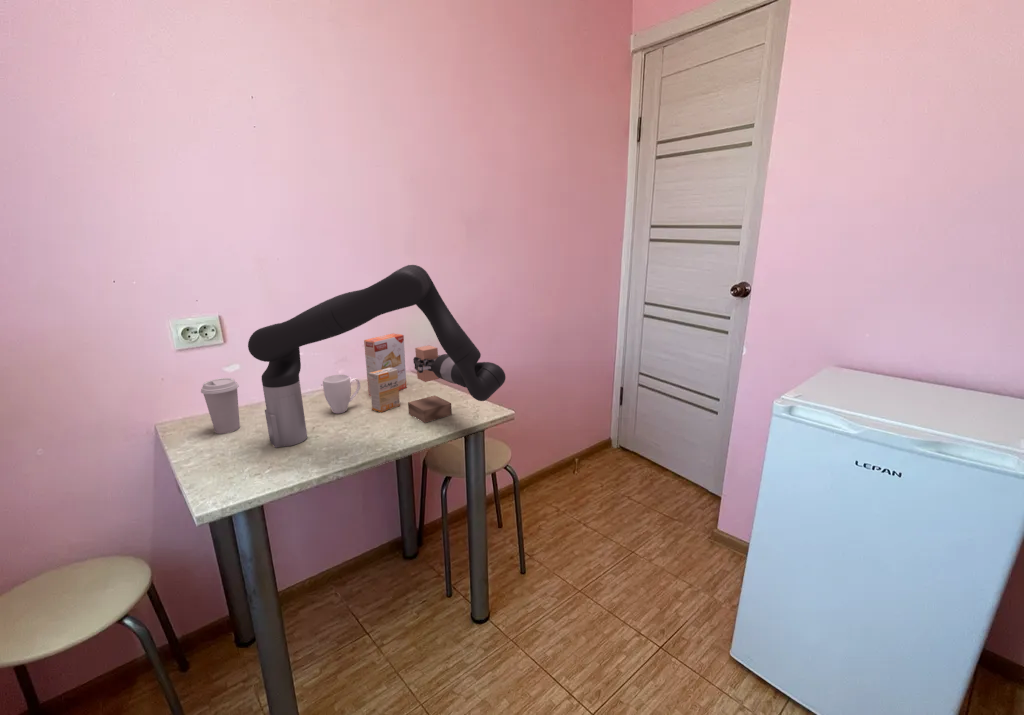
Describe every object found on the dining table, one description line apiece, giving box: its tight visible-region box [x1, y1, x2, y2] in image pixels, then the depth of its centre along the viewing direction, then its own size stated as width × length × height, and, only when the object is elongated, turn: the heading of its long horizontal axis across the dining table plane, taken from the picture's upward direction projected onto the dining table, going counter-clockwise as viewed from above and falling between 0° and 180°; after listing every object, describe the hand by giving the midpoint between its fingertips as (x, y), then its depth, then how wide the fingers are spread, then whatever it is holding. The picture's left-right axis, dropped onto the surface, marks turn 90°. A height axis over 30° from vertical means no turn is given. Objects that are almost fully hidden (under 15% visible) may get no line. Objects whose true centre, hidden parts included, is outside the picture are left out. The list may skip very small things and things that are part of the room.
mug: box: [322, 374, 361, 414], centre depth 153 cm, size 12×8×11 cm
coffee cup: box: [200, 377, 241, 435], centre depth 138 cm, size 10×10×15 cm
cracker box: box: [363, 332, 408, 397], centre depth 169 cm, size 14×6×21 cm, turn 147°
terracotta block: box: [414, 344, 440, 383], centre depth 145 cm, size 5×5×10 cm
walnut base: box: [407, 394, 453, 424], centre depth 149 cm, size 10×10×4 cm
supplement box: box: [369, 368, 401, 413], centre depth 154 cm, size 8×5×13 cm, turn 143°
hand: (422, 358), depth 146 cm, fingers closed on terracotta block, 5 cm apart
